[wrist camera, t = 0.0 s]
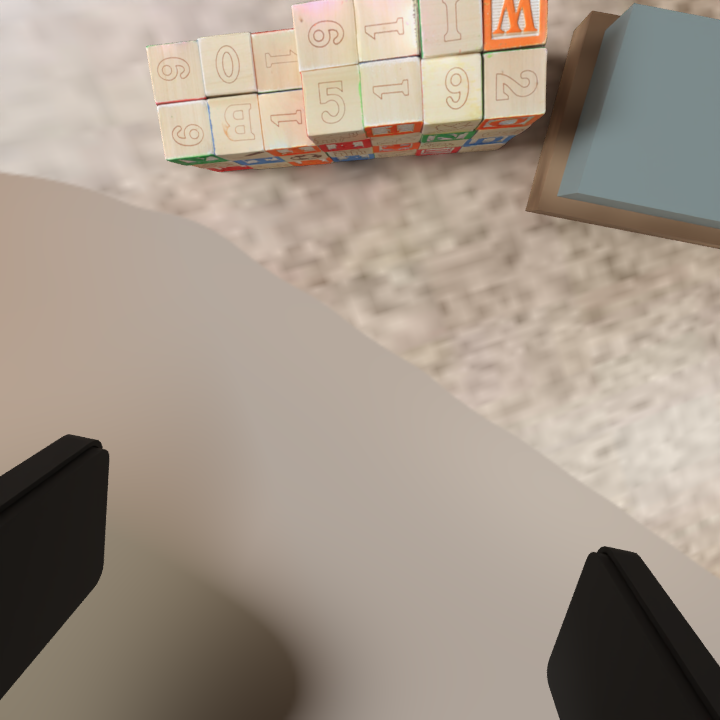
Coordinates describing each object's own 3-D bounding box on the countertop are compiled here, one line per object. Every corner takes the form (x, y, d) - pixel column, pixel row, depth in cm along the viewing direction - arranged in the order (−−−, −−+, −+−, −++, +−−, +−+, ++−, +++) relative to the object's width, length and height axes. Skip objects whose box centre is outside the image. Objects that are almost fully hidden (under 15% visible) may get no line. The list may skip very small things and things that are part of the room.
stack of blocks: (217, 175, 38) (136, 153, 27) (204, 85, 37) (112, 19, 25) (500, 149, 36) (549, 114, 25) (500, 53, 35) (552, -34, 23)
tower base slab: (570, 34, 35) (592, 10, 31) (888, 93, 34) (950, 76, 30) (523, 211, 38) (537, 209, 34) (812, 267, 37) (860, 272, 34)
